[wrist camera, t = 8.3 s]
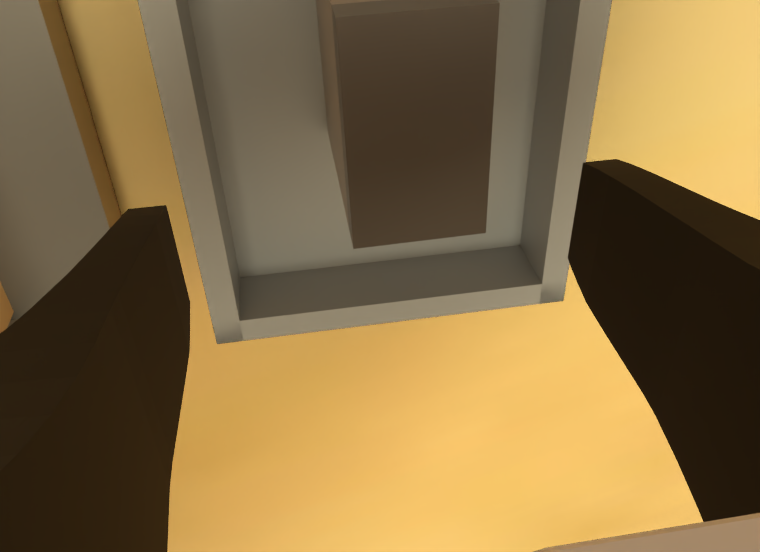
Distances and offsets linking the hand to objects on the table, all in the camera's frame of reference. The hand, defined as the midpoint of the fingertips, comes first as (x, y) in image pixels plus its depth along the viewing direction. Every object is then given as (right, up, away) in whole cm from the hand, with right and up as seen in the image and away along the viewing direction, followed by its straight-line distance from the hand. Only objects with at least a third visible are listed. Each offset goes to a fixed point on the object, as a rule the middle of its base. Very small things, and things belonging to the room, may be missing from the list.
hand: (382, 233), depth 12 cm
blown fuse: (0, +6, +7) cm, 9 cm away
